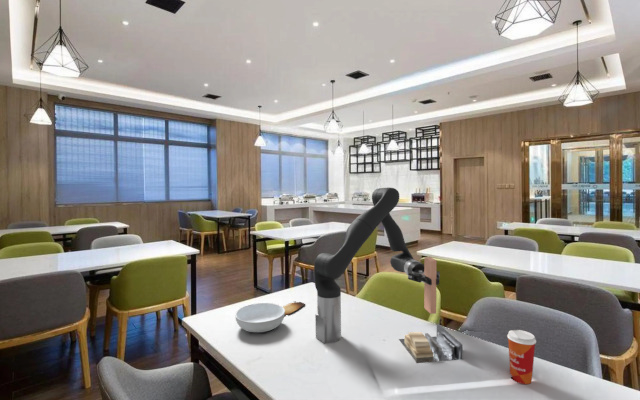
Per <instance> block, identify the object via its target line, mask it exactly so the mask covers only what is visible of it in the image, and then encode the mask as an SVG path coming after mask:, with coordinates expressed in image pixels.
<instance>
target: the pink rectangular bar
mask: <svg viewBox="0 0 640 400" xmlns="http://www.w3.org/2000/svg"><path fill="white" fill-rule="evenodd" d="M436 272H437V259H434V258H433V257H431V256H424V274H425V275H426V277H428V278H430V279H431V280H432V285H428V284H427V283H424V282H423V284H424V287H423V288H424V290H423V294H424V296H423V299H424V301H423V303H424V304H423V305H424V307H423V308H424V309H425V310H426V311H427V312H428V313H429V314H431V315H432V314H433V315H434V314H437V285H436Z"/></svg>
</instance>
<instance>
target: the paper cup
mask: <svg viewBox="0 0 640 400" xmlns="http://www.w3.org/2000/svg"><path fill="white" fill-rule="evenodd" d="M506 338H507V340H508V341H507V342H508V359H509V360H508V361H509V374H510V379H511V380H512V381H514V382H515V383H518V384H520V385H530V384H531V383H532V381H533V372H534V371H533V369H534V361H535V360H534V359H535V350H536V348H535V347H536V346H535V345H536V343H537V339H536V336H535V335H534V334H533V333H531V332H529V331H525V330H522V329H513V330H512V329H511V330H509V331H508V334H506Z"/></svg>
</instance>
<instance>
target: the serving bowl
mask: <svg viewBox="0 0 640 400" xmlns="http://www.w3.org/2000/svg"><path fill="white" fill-rule="evenodd" d="M284 315H285V309H284V308H283V305H280V304H277V303H273V302H258V303H251V304H247V305H244V306H243V307H239V309H238V310H237V311H236V312H235V314H234V316H235V321H236V323H237V325H238V327H240V328H241V330H244V331H246V332H248V333H249V332H250V333H265V332H269V331H271V330H273V329H276V328H278V327H279V326H280V325H281V324H282V322H283V320H284V318H285V316H284Z"/></svg>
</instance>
